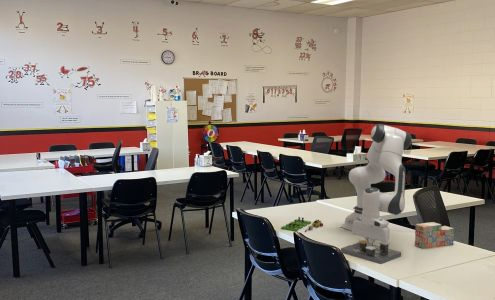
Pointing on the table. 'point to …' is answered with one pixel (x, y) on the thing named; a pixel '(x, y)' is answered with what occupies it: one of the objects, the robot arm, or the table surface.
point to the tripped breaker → (363, 244)
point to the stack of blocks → (433, 235)
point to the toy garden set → (301, 225)
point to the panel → (378, 257)
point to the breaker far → (384, 245)
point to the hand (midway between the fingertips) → (369, 246)
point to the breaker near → (370, 250)
